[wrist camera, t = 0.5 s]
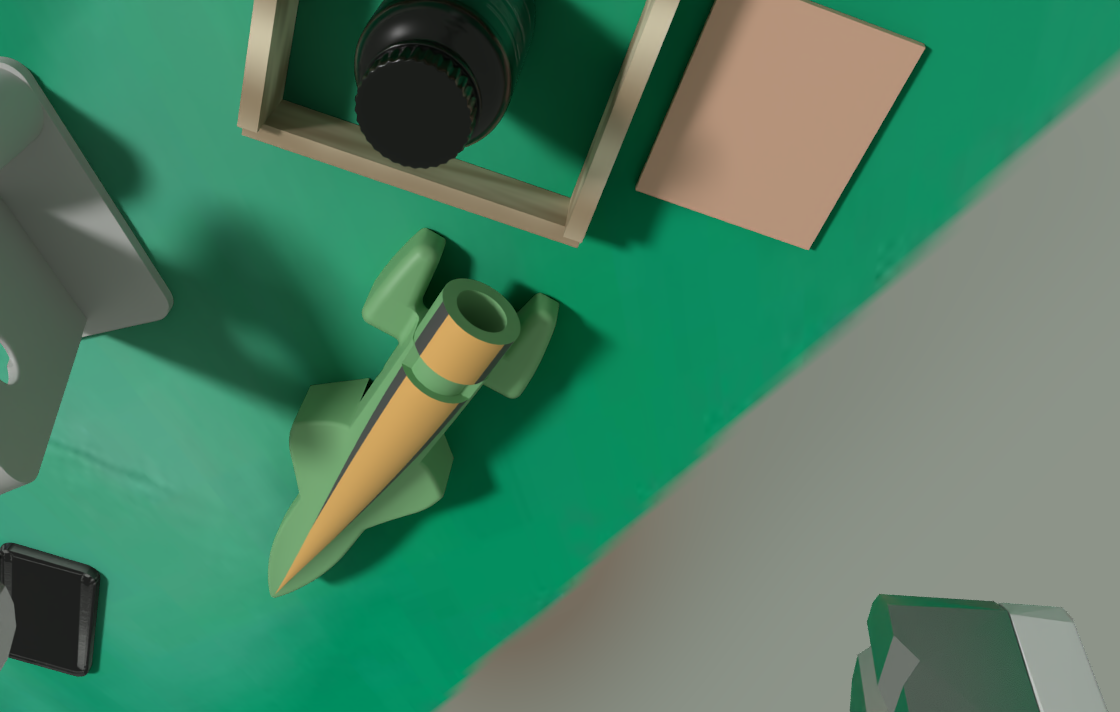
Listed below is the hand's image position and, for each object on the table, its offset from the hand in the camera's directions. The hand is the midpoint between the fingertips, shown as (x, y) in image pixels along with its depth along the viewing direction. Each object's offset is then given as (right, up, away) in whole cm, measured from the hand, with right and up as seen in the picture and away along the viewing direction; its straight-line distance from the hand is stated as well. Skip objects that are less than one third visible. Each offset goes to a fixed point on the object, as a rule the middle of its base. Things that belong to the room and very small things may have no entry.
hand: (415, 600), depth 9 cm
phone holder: (-29, +11, +50) cm, 59 cm away
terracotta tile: (+12, +14, +42) cm, 46 cm away
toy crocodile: (-11, -2, +59) cm, 60 cm away
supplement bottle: (-3, +19, +41) cm, 45 cm away
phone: (-41, -18, +75) cm, 87 cm away
